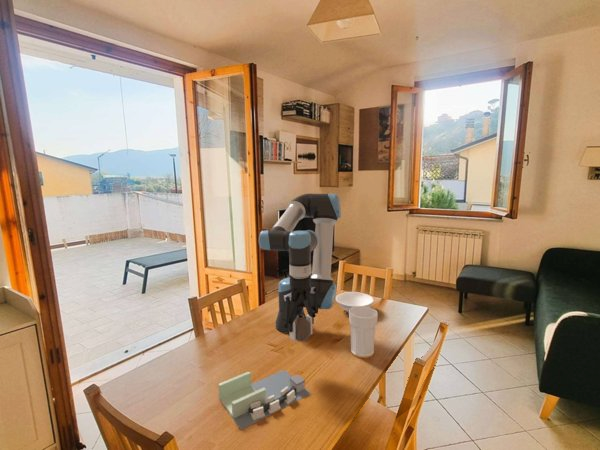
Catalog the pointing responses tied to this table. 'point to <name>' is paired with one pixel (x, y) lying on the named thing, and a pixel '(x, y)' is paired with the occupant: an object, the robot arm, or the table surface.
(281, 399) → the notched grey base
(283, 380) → the board
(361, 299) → the bowl
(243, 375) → the holder
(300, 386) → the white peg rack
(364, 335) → the cup
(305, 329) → the vase
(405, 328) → the table surface
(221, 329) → the table surface
